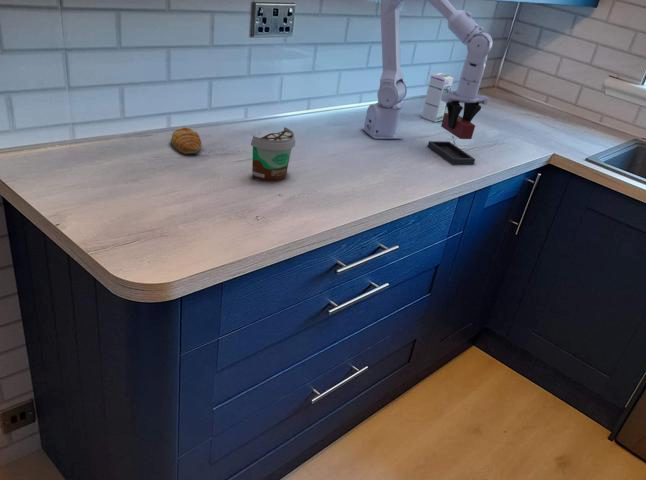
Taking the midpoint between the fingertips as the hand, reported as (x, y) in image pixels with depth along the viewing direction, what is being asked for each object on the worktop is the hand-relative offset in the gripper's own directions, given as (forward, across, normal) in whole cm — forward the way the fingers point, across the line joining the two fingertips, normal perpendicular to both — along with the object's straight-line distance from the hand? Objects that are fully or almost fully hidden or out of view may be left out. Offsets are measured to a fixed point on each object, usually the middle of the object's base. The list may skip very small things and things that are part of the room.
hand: (457, 127), depth 170 cm
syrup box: (+8, +14, +31) cm, 35 cm away
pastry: (+8, -75, +4) cm, 76 cm away
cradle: (+8, 0, -1) cm, 8 cm away
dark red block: (+1, 0, 0) cm, 1 cm away
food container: (+8, -59, -14) cm, 61 cm away
